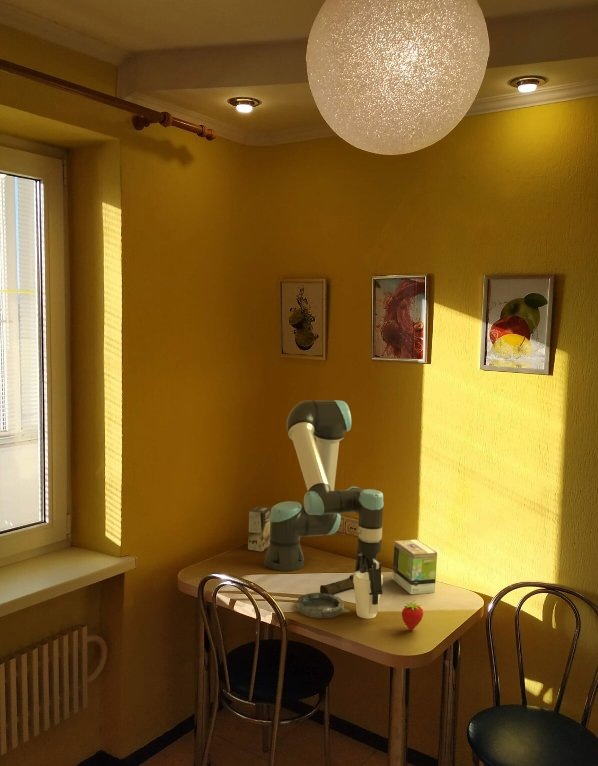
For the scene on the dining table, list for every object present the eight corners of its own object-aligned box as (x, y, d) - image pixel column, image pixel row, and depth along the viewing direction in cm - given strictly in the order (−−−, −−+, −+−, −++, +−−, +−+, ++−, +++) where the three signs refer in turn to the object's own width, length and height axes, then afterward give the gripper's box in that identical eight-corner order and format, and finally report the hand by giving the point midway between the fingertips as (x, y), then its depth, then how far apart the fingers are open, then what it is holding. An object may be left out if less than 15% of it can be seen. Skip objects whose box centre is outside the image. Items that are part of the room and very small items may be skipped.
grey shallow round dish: (291, 601, 234) (291, 595, 233) (333, 596, 238) (333, 591, 238) (305, 620, 219) (305, 614, 219) (350, 615, 224) (350, 609, 224)
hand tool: (326, 598, 237) (326, 585, 236) (318, 594, 240) (319, 581, 240) (368, 587, 248) (368, 575, 247) (360, 583, 251) (361, 571, 251)
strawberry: (426, 630, 215) (428, 599, 214) (411, 637, 210) (413, 605, 209) (411, 623, 219) (413, 593, 218) (396, 630, 214) (397, 599, 213)
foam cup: (387, 615, 225) (388, 576, 224) (368, 623, 219) (370, 583, 217) (364, 605, 232) (366, 567, 230) (345, 613, 225) (347, 574, 224)
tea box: (436, 592, 245) (438, 551, 243) (410, 595, 242) (412, 554, 240) (416, 576, 259) (418, 538, 257) (391, 579, 256) (393, 540, 254)
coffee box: (262, 552, 280) (263, 512, 278) (247, 549, 282) (248, 510, 280) (270, 544, 289) (271, 507, 287) (256, 542, 291) (257, 505, 289)
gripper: (345, 529, 232) (343, 594, 234) (373, 551, 211) (369, 622, 213) (366, 527, 234) (363, 592, 237) (395, 549, 213) (392, 620, 216)
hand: (366, 606), depth 225 cm, fingers closed on foam cup, 9 cm apart
